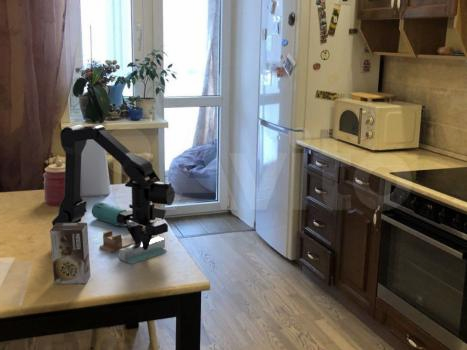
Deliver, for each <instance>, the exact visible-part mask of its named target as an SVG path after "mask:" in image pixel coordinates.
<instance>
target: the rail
mask: <svg viewBox="0 0 467 350" xmlns="http://www.w3.org/2000/svg"><path fill="white" fill-rule="evenodd" d="M162 248H163V249H165V248H166V240H165V238H163V237H161V236H157V237H156V236H155V237H154V238H153V239H151V240H150V243H149V246H148V249H147V250H144V248H143V245H142V242H141V243H138V244H135V245H132V246H129V247H126V248H123V249H120V250H119V251H118V256H119V258H118V259H119V260H121V261H123V262H126V261H128V260H131V259H134V258H137V257H139V256H142V255H145V254H148V253H151V252H154V251H157V250H159V249H162Z"/></svg>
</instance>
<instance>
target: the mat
mask: <svg viewBox="0 0 467 350" xmlns="http://www.w3.org/2000/svg"><path fill="white" fill-rule="evenodd" d="M166 251H167V252H168V250H167V249H165V248H162V249H159V250H157V251H154V252H151V253H148V254H145V255H142V256H139V257H137V258H134V259H131V260H128V261H125V262H127V263H130V264H132V265H135V264H136V263H139V262H141V261H145V260H147V258H148V259H150V258H153V257H156V256H158V254H159V255H162V254H164V253H166ZM161 253H162V254H161ZM117 258H118V259H119V255H118V256H117ZM144 259H145V260H144Z"/></svg>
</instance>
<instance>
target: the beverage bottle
mask: <svg viewBox="0 0 467 350" xmlns="http://www.w3.org/2000/svg"><path fill="white" fill-rule="evenodd" d="M126 211H128V210H127V209H124V208H120V207H119V206H114V205H111V204H109V203H105V202H102V201H101V202H100V201H97V202H95V204H93V206H92V208H91V215H92V217H93V218H95V219H97V220H100V221H104V222H107V223H111V224H114V225H115V226H118V227H123V226H124V227H125V226H126V225H127V221H126V220H125V222H124V223H123V224H121V223H118V222H117V215H118V214H119V213H122V212H126Z"/></svg>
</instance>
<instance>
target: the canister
mask: <svg viewBox="0 0 467 350" xmlns="http://www.w3.org/2000/svg"><path fill="white" fill-rule="evenodd" d="M44 171H45V172H44V173H43V174H42V177H43V178H44V181H43V188H44V190H43V191H44V201H45V204H46V205H47V206H51V207H52V206H53V207H60V204H61V202H62V200H63V198H64V195H65V162H63V161H62V160H61V159H57V160H56V161H55V163H52V164H49V165H47V166H46V167H45V168H44Z"/></svg>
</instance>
